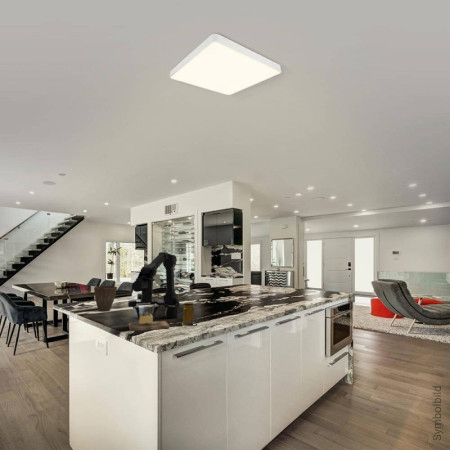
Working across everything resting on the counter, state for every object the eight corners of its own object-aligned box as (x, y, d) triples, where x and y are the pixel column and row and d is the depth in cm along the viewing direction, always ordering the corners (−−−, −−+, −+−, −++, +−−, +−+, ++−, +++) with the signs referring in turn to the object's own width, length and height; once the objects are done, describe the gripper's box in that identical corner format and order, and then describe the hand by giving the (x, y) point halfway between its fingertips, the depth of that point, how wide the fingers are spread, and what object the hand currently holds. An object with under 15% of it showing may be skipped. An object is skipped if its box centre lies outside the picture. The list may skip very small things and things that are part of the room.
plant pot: (93, 308, 210) (95, 285, 212) (116, 308, 215) (117, 285, 217) (91, 312, 196) (92, 288, 198) (115, 312, 201) (116, 288, 202)
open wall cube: (150, 320, 164) (151, 313, 164) (152, 322, 158) (152, 315, 158) (138, 320, 162) (138, 314, 162) (139, 323, 156) (140, 316, 156)
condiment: (182, 323, 173) (183, 302, 175) (196, 323, 174) (197, 302, 176) (181, 326, 166) (182, 304, 168) (196, 326, 167) (197, 304, 168)
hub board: (165, 323, 170) (165, 308, 171) (169, 328, 159) (169, 312, 160) (128, 325, 163) (129, 309, 164) (130, 330, 152) (131, 313, 153)
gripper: (161, 288, 172) (160, 315, 171) (128, 288, 166) (126, 317, 164) (165, 290, 162) (164, 319, 160) (129, 290, 155) (127, 321, 154)
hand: (145, 319), depth 160 cm, fingers closed on open wall cube, 7 cm apart
